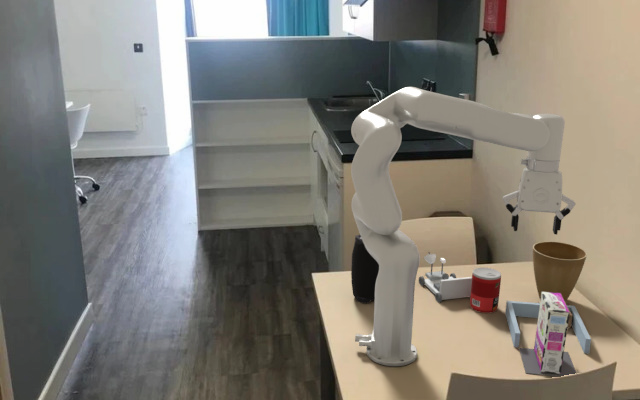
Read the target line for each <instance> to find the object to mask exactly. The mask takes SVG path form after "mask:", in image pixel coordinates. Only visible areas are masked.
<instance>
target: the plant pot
mask: <svg viewBox="0 0 640 400" xmlns="http://www.w3.org/2000/svg"><path fill="white" fill-rule="evenodd" d="M587 256H588V253H587V252H586V250H584V248H581V247H579V246H577V245H574V244H571V243H566V242H561V241H539V242H536V243H534V244H533V245H532V264H533V266H532V267H533V272H534V273H533V274H534V280H535V286H536V289H537V293H538V298H539V299H540V301H541V292H554V293H561V295H562V297H563V299H564V301H565V303H566V302H567V301H568V299H569V297H570V296H571V294H572V292H573V290H574V288H575V287H576V285H577V282H578V280H579V279H580V275H581V273H582V270H583V268H584V266H585V262H586V259H587Z"/></svg>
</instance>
